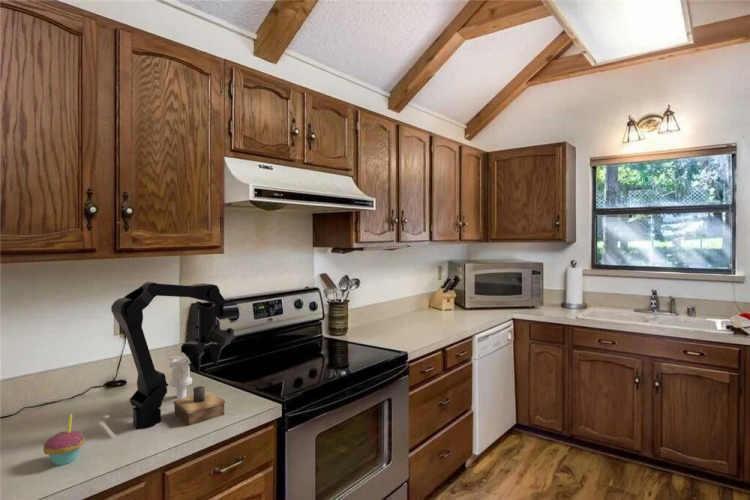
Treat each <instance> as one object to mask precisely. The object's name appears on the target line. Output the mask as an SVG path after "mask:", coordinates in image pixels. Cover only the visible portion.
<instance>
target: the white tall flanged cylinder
mask: <svg viewBox="0 0 750 500" xmlns="http://www.w3.org/2000/svg"><path fill="white" fill-rule="evenodd" d="M190 364H192V363H191V362H190V360H189V358H188V357H187V356H178V355H176V356H170V357H169V368H170V369H171V368H172V370H171V371H172V372H171V377H172V378H171V380H170V381H169V385H170V387H173V388H176V398H177V399H182V398H186V397H187V386H188V385H191V384H192V383H193V378H192V377H191V376H190V375H191V371H190V370H191V368H190Z"/></svg>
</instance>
